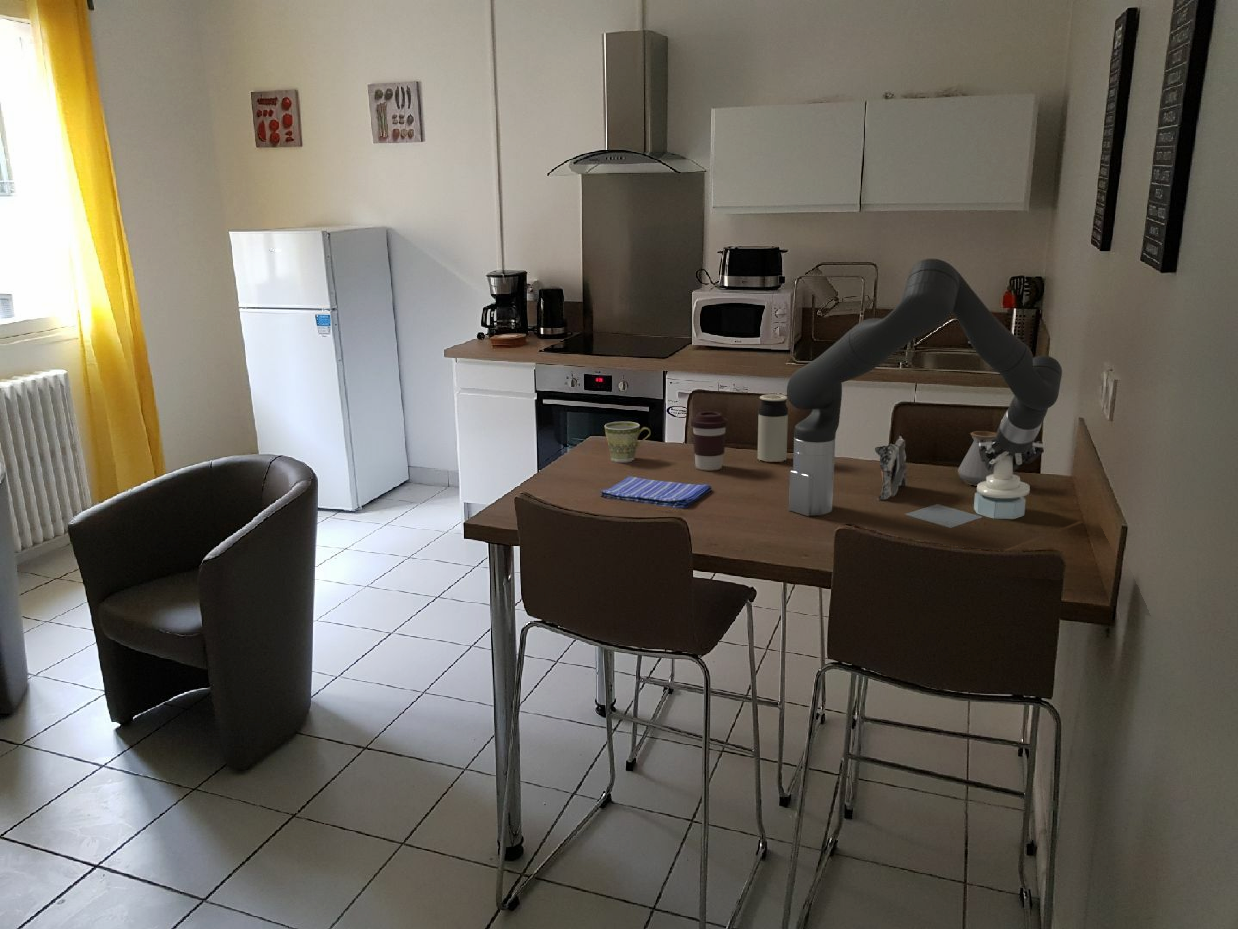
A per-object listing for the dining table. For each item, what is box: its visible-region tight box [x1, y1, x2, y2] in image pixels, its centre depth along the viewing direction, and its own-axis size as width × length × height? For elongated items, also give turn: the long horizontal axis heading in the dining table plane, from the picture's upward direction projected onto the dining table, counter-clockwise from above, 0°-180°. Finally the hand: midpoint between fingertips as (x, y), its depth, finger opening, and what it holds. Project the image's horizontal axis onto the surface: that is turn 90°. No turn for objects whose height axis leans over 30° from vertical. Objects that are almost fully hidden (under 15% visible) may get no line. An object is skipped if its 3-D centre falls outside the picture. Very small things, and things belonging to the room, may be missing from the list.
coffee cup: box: [690, 411, 729, 472], centre depth 248 cm, size 10×10×15 cm
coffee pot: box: [957, 430, 997, 485], centre depth 225 cm, size 21×12×15 cm, turn 156°
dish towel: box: [600, 476, 712, 509], centre depth 227 cm, size 17×24×3 cm
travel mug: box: [757, 393, 789, 462], centre depth 254 cm, size 8×8×18 cm
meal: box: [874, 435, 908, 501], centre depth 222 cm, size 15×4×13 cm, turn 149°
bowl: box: [973, 492, 1027, 520], centre depth 208 cm, size 10×10×4 cm
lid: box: [976, 456, 1031, 498], centre depth 205 cm, size 11×11×10 cm
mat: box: [904, 503, 983, 529], centre depth 206 cm, size 12×12×1 cm
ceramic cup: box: [604, 421, 652, 463], centre depth 258 cm, size 13×10×10 cm
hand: (1000, 467), depth 207 cm, fingers closed on lid, 4 cm apart
